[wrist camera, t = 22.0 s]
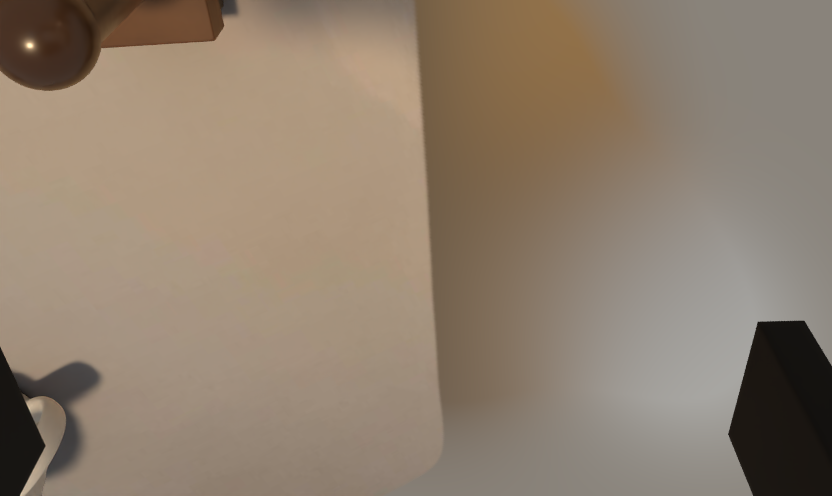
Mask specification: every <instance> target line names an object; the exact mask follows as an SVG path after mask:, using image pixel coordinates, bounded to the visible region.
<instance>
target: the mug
mask: <svg viewBox="0 0 832 496" xmlns="http://www.w3.org/2000/svg"><path fill="white" fill-rule="evenodd" d="M22 395H23V397H24V400H25V402H26V404H27V406H28V408H29V411H30V413H31V415H32V417H33V419H34V421H35V424H36V426H37V428H38V430H39V432H40V434H41V437H42V439H43V441H44V443H45V445H46V447H45V448H44V450H43V452H42V454H41V456H40V458H39V460H38V462H37V464H36V466H35V468H34V469H33V471H32V473H31V475H30V477H29V479H28V481H27V483H26V485H25V487H24V489H23V490H22V492H21V494H20V496H42V491H43V486H44V484H45V480H46V471H47V468H48V465H49V464H50V462H51V461H52V459H53V457H54V455H55V453H56V451H57V449H58V447H59V445H60V443H61V440H62V438H63V435H64V431H65V427H66V415H65V412H64V410H63V408H62V407H61V406H60V404H58V403H57V402H56V401H55V400H53V399H51V398H49V397H46V396H39V397H35V398H31V399H30V398H28V397H27V396H26V395H24V394H23V393H22Z"/></svg>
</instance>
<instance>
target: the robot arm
mask: <svg viewBox="0 0 832 496" xmlns="http://www.w3.org/2000/svg"><path fill="white" fill-rule="evenodd" d="M728 435H729V437H730V440H731V442H732V445H733V447H734V449H735V452H736V455H737V457H738V459H739V462H740V464H741V467H742V469H743V472H744V474H745V477H746V479H747V482H748V484H749V486H750V489H751V491H752V494H753V496H832V366H831V364H830V362H829V361H828V359H827V357H826V356H825V354H824V353H823V351H822V349H821V348H820V346H819V344H818V343H817V341H816V339H815V338H814V336H813V334H812V333H811V331H810V329H809V328H808V326H807V324H806V323H805V321H775V322H774V321H772V322H771V321H770V322H758V323H757V327H756V331H755V335H754V339H753V343H752V346H751V350H750V354H749V358H748V361H747V365H746V369H745V373H744V377H743V380H742V384H741V388H740V392H739V395H738V399H737V403H736V407H735V411H734V414H733V418H732V422H731V426H730V430H729V433H728ZM45 447H46V445H45V443H44V441H43V439H42V437H41V434H40V432H39V430H38V428H37V426H36V424H35V421H34V419H33V417H32V415H31V413H30V411H29V408H28V406H27V404H26V402H25V400H24V397H23V395H22V393H21V391H20V389H19V387H18V384H17V382H16V380H15V378H14V376H13V374H12V371H11V369H10V367H9V365H8V363H7V361H6V358H5V356H4V354H3V352H2V350H1V347H0V496H20V494H21V492H22V490H23V489H24V487H25V485H26V483H27V481H28V479H29V477H30V475H31V473H32V471H33V469H34V468H35V466H36V464H37V462H38V460H39V458H40V456H41V454H42V452H43V450H44V448H45Z"/></svg>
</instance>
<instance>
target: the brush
mask: <svg viewBox="0 0 832 496" xmlns="http://www.w3.org/2000/svg"><path fill="white" fill-rule="evenodd" d="M222 7H223V1H222V0H0V71H1V72H2V73H3V74H4V75H6V76H7V77H8V78H10V79H11V80H13V81H15V82H16V83H18V84H20V85H23V86H25V87H28V88H31V89H36V90H44V91H53V90H60V89H64V88H68V87H70V86H72V85H75V84H77V83H78V82H80V81H81V80H83V79H84V78H85V77H86V76H87V75H88V74H89V73H90V72H91V70H92V69H93V68H94V66H95V64H96V63H97V60H98V57H99V54H100V50H101V48H111V47H126V46H142V45H157V44H173V43H188V42H204V41H214V40H216V38H217V37H218V35H219V33H220V32H221V30H222V29H223V27H224V23H223V19H222V14H221V9H222Z"/></svg>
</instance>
